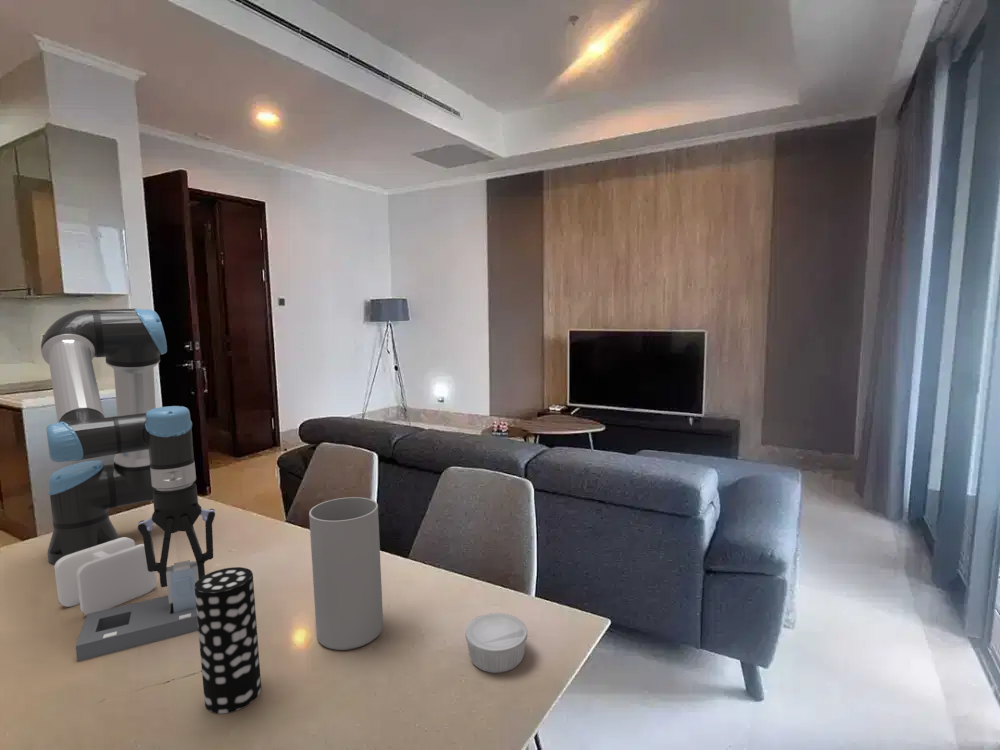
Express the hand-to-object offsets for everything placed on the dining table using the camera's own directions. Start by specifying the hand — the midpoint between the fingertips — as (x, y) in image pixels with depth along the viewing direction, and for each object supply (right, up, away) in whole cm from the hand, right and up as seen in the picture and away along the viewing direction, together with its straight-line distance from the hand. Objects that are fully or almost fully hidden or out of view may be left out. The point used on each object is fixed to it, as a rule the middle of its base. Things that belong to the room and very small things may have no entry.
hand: (184, 596), depth 111 cm
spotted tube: (+20, -8, -21) cm, 30 cm away
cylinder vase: (+35, -5, -4) cm, 35 cm away
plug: (0, -4, 0) cm, 4 cm away
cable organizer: (-22, -5, +9) cm, 24 cm away
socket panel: (-5, -6, -2) cm, 8 cm away
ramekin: (+63, -6, -12) cm, 65 cm away
